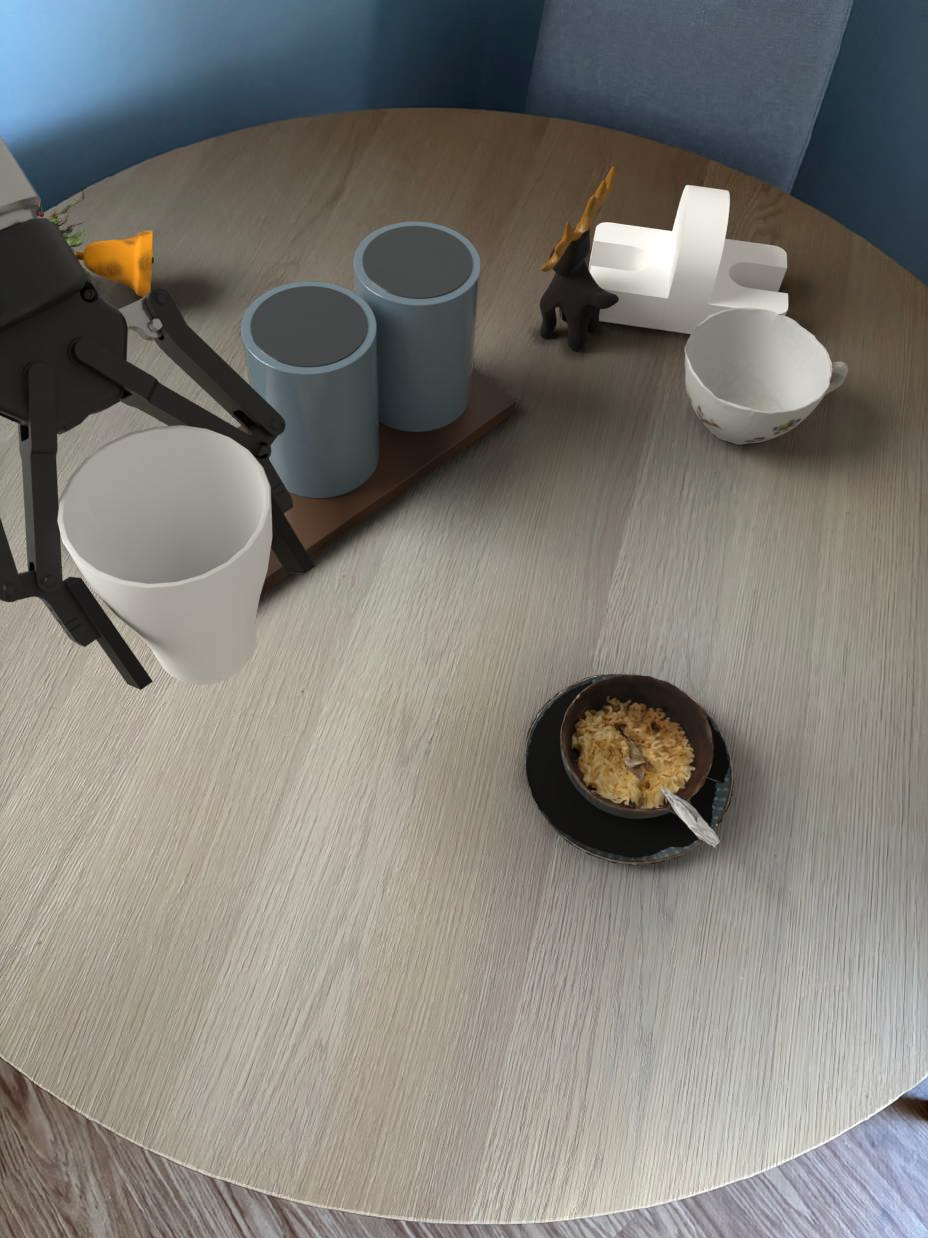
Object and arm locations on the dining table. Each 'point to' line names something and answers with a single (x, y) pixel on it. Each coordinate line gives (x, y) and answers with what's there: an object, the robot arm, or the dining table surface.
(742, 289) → the bracket
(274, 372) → the slate cup
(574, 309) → the figurine
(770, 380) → the teacup
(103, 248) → the christmas decoration
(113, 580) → the cup
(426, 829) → the dining table surface
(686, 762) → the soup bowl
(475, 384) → the walnut board
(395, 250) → the slate cup
